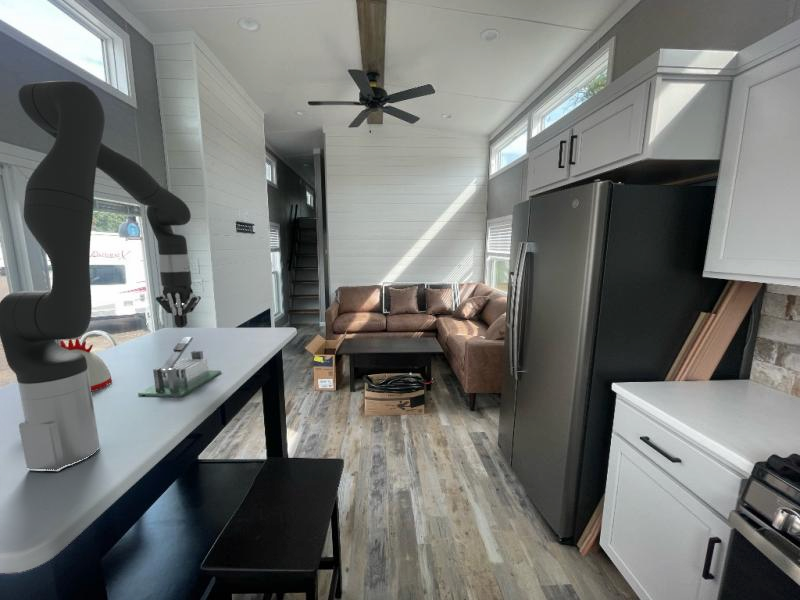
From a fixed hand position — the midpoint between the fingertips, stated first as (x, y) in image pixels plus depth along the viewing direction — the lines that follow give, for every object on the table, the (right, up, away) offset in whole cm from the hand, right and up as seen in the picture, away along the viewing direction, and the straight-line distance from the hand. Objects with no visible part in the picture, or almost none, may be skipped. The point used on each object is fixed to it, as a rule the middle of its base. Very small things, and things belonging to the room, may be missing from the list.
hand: (181, 326), depth 100 cm
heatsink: (0, -18, +1) cm, 18 cm away
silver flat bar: (0, -8, -2) cm, 9 cm away
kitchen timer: (-29, -18, -2) cm, 34 cm away
